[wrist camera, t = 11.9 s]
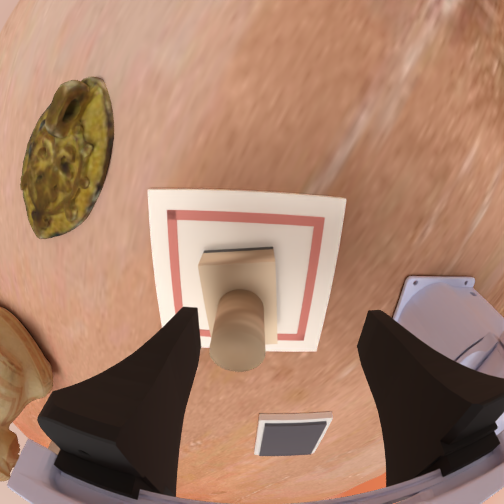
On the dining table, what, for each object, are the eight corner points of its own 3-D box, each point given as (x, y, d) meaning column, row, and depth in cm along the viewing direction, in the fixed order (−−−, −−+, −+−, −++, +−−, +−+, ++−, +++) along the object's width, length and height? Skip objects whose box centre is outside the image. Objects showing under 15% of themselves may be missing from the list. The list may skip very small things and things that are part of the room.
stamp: (272, 246, 20) (281, 300, 13) (275, 324, 23) (281, 388, 16) (204, 250, 20) (181, 304, 14) (216, 326, 23) (204, 390, 16)
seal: (88, 253, 22) (147, 95, 17) (65, 280, 18) (125, 89, 13) (18, 215, 20) (61, 65, 14) (-9, 234, 16) (29, 59, 10)
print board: (344, 197, 19) (346, 199, 18) (315, 347, 24) (316, 352, 24) (150, 188, 19) (147, 190, 18) (166, 339, 24) (164, 343, 24)
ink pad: (331, 411, 29) (333, 420, 28) (313, 447, 33) (314, 455, 32) (259, 413, 29) (259, 423, 28) (254, 449, 33) (254, 457, 32)
